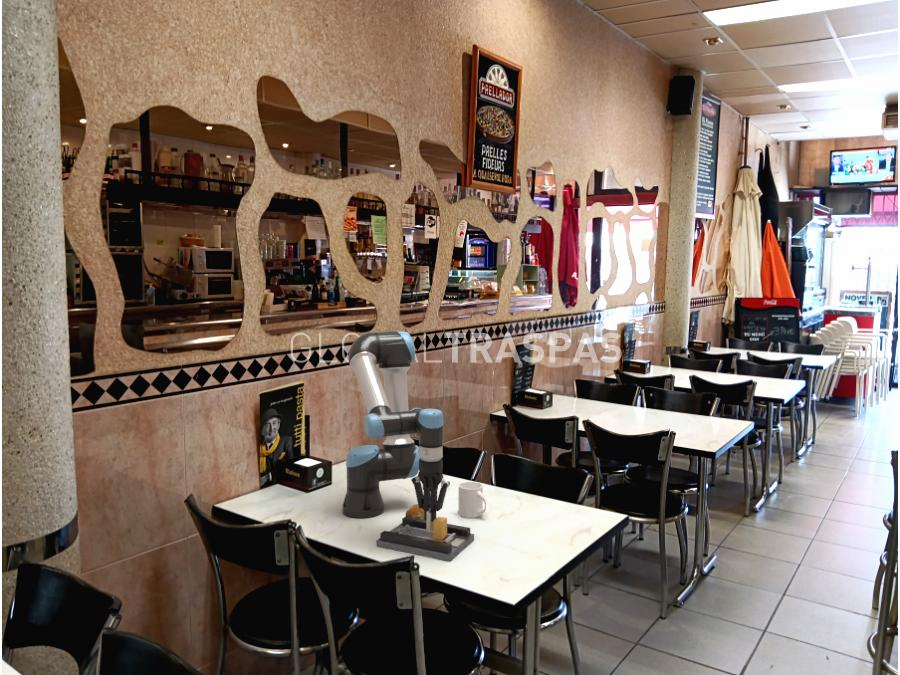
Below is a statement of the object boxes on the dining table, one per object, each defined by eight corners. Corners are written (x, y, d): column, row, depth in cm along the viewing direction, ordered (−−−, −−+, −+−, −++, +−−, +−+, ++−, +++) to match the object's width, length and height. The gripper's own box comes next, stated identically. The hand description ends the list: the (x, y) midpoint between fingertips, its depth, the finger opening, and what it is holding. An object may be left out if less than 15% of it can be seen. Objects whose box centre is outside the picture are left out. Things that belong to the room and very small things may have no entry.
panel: (376, 546, 222) (376, 533, 222) (404, 526, 238) (404, 515, 238) (450, 561, 211) (450, 548, 211) (474, 539, 227) (474, 527, 227)
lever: (433, 541, 221) (432, 520, 220) (439, 536, 225) (439, 515, 224) (441, 542, 220) (441, 522, 219) (447, 537, 224) (447, 517, 223)
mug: (476, 523, 242) (476, 493, 241) (453, 514, 251) (453, 485, 249) (494, 517, 247) (494, 487, 246) (470, 508, 256) (471, 479, 255)
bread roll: (436, 530, 245) (439, 506, 248) (426, 527, 236) (429, 503, 239) (409, 526, 249) (413, 503, 251) (399, 523, 239) (403, 500, 242)
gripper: (407, 458, 220) (406, 531, 223) (443, 464, 215) (442, 538, 217) (418, 453, 227) (418, 523, 229) (454, 458, 221) (453, 530, 224)
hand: (430, 530), depth 223 cm, fingers closed
